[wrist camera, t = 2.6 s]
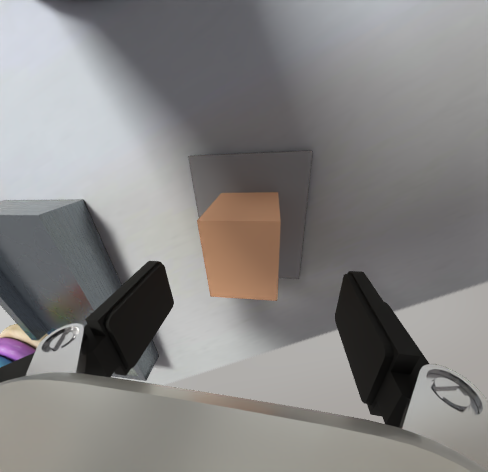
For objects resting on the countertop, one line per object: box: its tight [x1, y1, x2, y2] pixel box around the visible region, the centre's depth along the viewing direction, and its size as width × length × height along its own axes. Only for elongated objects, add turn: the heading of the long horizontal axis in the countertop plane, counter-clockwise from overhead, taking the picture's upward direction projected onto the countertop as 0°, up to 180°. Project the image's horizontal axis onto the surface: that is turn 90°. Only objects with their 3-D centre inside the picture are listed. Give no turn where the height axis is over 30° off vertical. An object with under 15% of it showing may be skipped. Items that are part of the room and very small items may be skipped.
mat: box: [188, 151, 313, 279], centre depth 15 cm, size 10×8×1 cm
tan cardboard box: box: [197, 192, 281, 301], centre depth 12 cm, size 5×4×5 cm
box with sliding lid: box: [0, 200, 159, 381], centre depth 20 cm, size 22×10×4 cm, turn 3°
